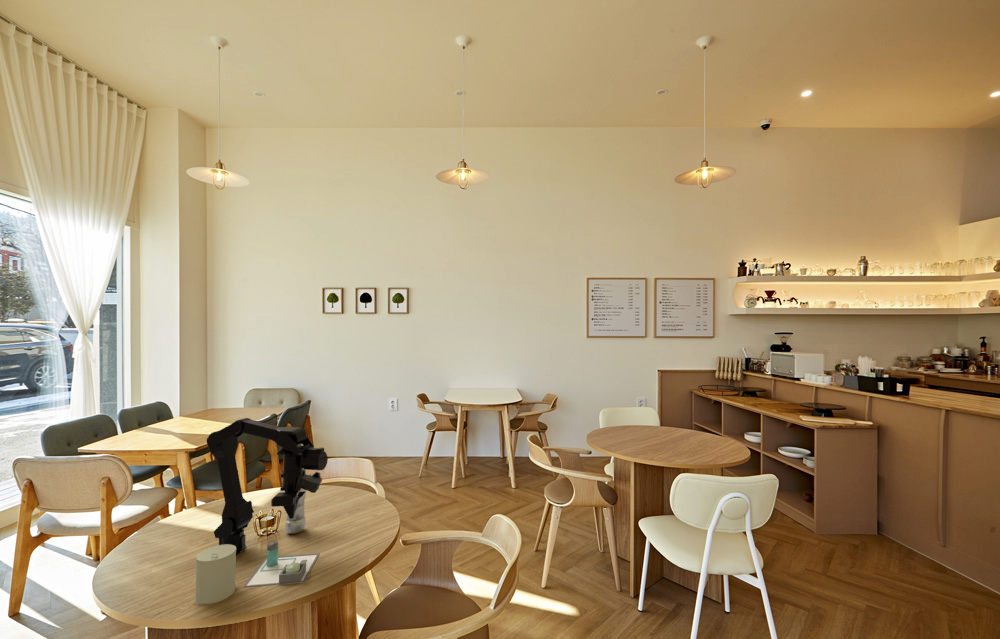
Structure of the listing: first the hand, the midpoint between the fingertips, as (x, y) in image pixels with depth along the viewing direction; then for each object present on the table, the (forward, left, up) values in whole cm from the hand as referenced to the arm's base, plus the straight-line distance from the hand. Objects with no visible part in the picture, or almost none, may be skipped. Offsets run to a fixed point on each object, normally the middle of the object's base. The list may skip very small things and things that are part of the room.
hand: (291, 518), depth 136 cm
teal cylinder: (-4, -6, -11) cm, 13 cm away
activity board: (+1, -9, -12) cm, 15 cm away
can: (-13, -19, -12) cm, 26 cm away
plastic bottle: (-4, +18, -12) cm, 22 cm away
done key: (+5, -14, -11) cm, 19 cm away
